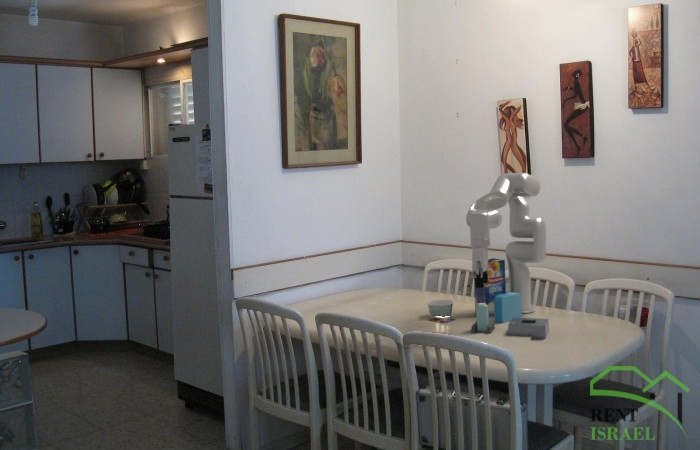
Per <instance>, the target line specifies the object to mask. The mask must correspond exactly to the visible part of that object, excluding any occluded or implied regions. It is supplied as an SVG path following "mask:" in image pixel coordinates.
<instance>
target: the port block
mask: <svg viewBox="0 0 700 450" xmlns="http://www.w3.org/2000/svg"><path fill="white" fill-rule="evenodd" d="M549 323H550V322H549V318H537V317H536V318H535V317H534V318H533V317H522V318H512V320H511V321H509V322H508V325H507V326H508V327H507V328H508V335H509V336H525V337H526V336H527V337H528V336H530V337H531V339H545V340H546V338H547V336H548V334H549V332H550V325H549Z"/></svg>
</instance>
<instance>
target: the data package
mask: <svg viewBox="0 0 700 450" xmlns="http://www.w3.org/2000/svg"><path fill="white" fill-rule="evenodd" d="M494 314H495V316H494V322H495V323H500V324H505V323H510V321H511V320H512V318H523V317H522V314H521V295H520V294H519V293H513V292H509V291H508V292H506V293H505V294H501V295H496V296H495V297H494Z"/></svg>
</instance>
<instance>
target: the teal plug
mask: <svg viewBox="0 0 700 450" xmlns="http://www.w3.org/2000/svg"><path fill="white" fill-rule="evenodd" d="M476 308H477V315H476V321H477V331H487V327H488V325H489V324H490V319H489V318H490V317H489V311H488V305H486V303H479V305H477V307H476Z"/></svg>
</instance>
